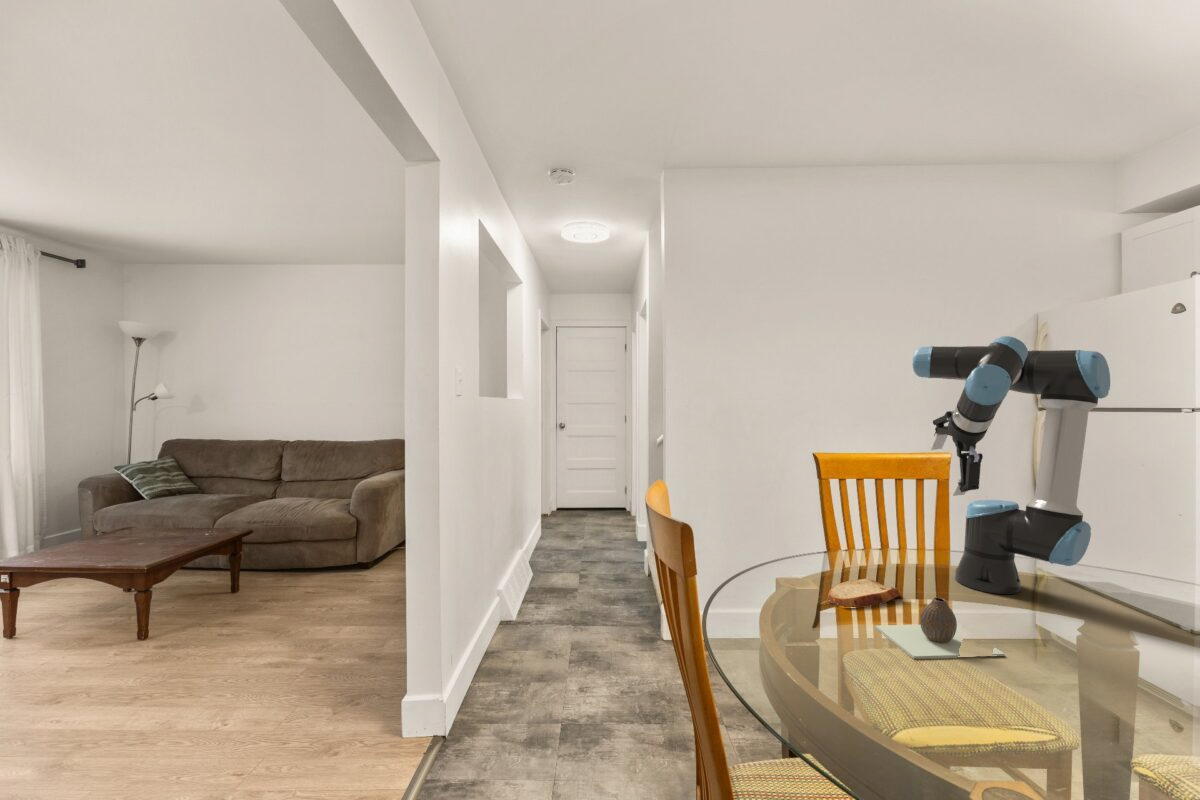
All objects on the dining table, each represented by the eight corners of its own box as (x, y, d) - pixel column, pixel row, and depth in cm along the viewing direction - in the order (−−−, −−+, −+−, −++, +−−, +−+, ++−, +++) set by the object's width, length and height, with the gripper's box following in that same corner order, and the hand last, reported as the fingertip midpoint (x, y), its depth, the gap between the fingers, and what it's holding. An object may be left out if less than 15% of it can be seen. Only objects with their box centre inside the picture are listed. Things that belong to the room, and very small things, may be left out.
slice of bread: (828, 608, 147) (829, 593, 147) (823, 582, 164) (824, 569, 164) (909, 618, 142) (910, 603, 142) (895, 591, 159) (896, 577, 159)
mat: (957, 626, 138) (957, 623, 138) (1004, 656, 124) (1004, 653, 124) (875, 628, 136) (875, 625, 136) (913, 659, 122) (913, 656, 122)
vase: (912, 631, 133) (914, 593, 132) (941, 631, 134) (944, 592, 133) (932, 646, 126) (935, 606, 125) (963, 646, 127) (966, 605, 126)
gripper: (931, 381, 143) (912, 432, 159) (977, 469, 127) (951, 516, 144) (964, 376, 142) (942, 428, 159) (1014, 464, 127) (984, 512, 143)
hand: (946, 470), depth 151 cm, fingers open, 13 cm apart
